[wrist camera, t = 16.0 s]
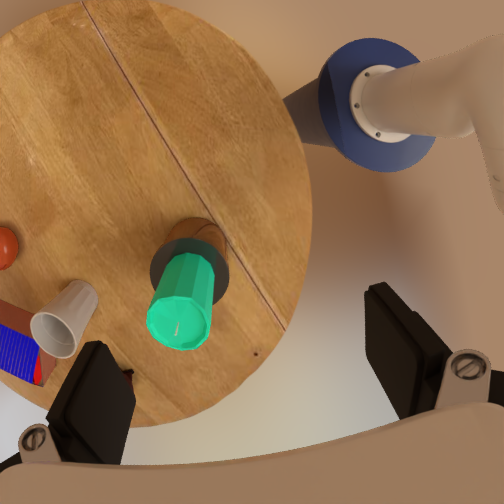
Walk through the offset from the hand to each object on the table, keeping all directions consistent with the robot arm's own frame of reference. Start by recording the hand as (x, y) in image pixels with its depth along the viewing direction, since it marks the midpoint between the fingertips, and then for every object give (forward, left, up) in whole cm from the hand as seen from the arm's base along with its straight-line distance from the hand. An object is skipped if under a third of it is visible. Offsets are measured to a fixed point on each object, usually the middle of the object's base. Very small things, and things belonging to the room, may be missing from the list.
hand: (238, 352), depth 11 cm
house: (+49, +16, -36) cm, 63 cm away
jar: (+7, +8, -36) cm, 38 cm away
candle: (+7, +8, -26) cm, 28 cm away
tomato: (+40, -1, -36) cm, 54 cm away
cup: (+29, +12, -36) cm, 48 cm away
